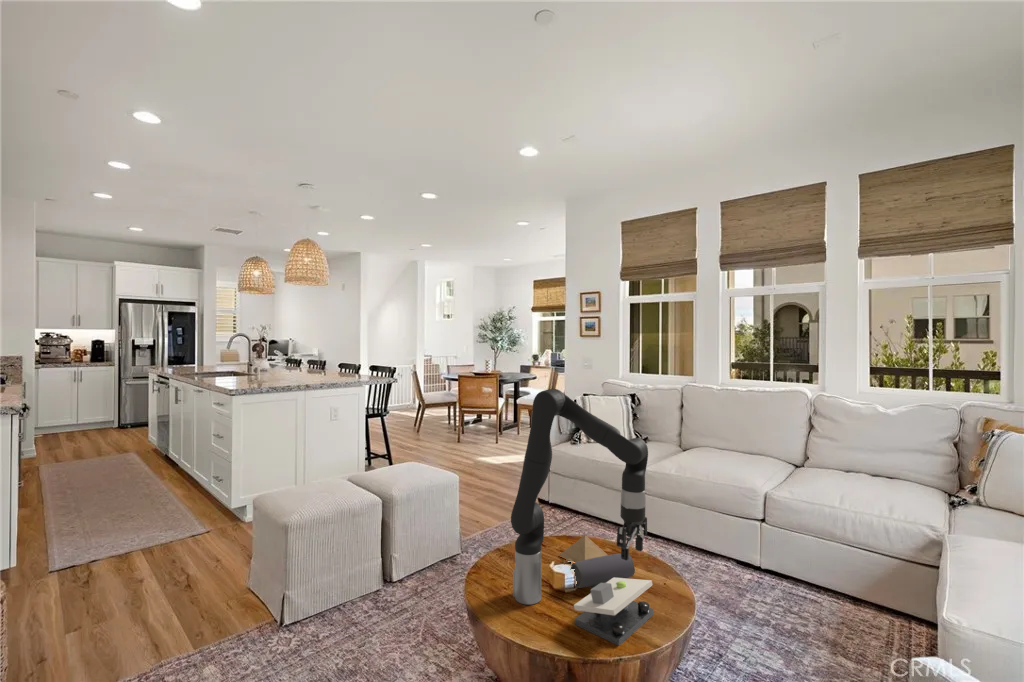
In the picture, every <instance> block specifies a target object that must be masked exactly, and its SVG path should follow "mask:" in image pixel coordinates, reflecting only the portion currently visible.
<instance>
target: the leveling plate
mask: <svg viewBox="0 0 1024 682" xmlns="http://www.w3.org/2000/svg"><path fill="white" fill-rule="evenodd" d="M653 585H654V584H653V580H652V579H651V580H650V579H639V578H615V577H614V578H612V579H611V580H609V581H608V582H606V583H600V584H598V585H597V586H595V587H594V588H592V587H591V589H590V593H589V594H588V595H586V596H585V597H583V598H581V599H580V600H578V601H577V602H576V603H575V604H573V608H574V611H580V612H593V613H600V614H607V615H614V616H615V615H616V614H617V613H618V612H620V611H621V610H622V609H623V608H625V607H626V606H627V605H628V604H630V603H631V602H632V601H635V600H637V598H639V596H641V595H642V594H643V593H645V592H646V591H647V590H648V589H649V588H651V587H652V586H653Z"/></svg>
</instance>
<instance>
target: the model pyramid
mask: <svg viewBox="0 0 1024 682" xmlns="http://www.w3.org/2000/svg"><path fill="white" fill-rule="evenodd" d="M606 555H608V553H606V552H605V551H604V550H603V549H602V548H600V546H598V545H597V544H596V543H595V542H594V541H592V540H591V539H590V538H589V537H588V536H587V535H586V534H584V535H582V537H580V538H579V539H578V540H577V541H575V542H574V543H572V544H571V545H570V546H569V547H567V548H566V549H565V550H563V551H562V552H561V553H560V554H558V555H557V557H558V556H561V557H563V558H565V559H566V560H567V561H574V562H579V561H583V560H587V559H591V558H596V557H601V556H606ZM566 560H565V561H566ZM567 561H566V562H567Z"/></svg>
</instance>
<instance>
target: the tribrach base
mask: <svg viewBox="0 0 1024 682" xmlns="http://www.w3.org/2000/svg"><path fill="white" fill-rule="evenodd" d="M654 611H655V610H654V608H652V607H650V604H649V602H646V601H639V602H637V601H635V600H633V601H632V602H631V603H630V604H628V605H627V606H626V607H625V608H623V609H622V610H621V611H620V612H618V613H617V614H616V615H615V616H614V615H607V614H600V613H593V612H585V611H582V613H580V614H579V615H578V616H576V617H575V618H574V625H575V626H577V627H579V628H581V629H583V630H584V631H588V632H589V633H591V634H593V635H595V636H597V637H599V638H601V639H604V640H605V641H607V642H610V643H612V644H614V645H615V646H618V647H620V645H621V644H623V643H624V642H625V641H626V640H627V639H629V637H630V636H632V635H633V634H634V633H635V632H636V631H637V630H639V628H641V627H642V626H643V625H644V624H645V623H646V622H647V621H649V620H650V619H651V618H652V617H653V616H654Z"/></svg>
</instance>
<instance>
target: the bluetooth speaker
mask: <svg viewBox="0 0 1024 682" xmlns="http://www.w3.org/2000/svg"><path fill="white" fill-rule="evenodd" d="M570 565H571V564H570ZM571 569H575V570H574V572H575V576H576V581H577V584H576V586H575V587H576V588H578V589H579V588H580V589H581V588H591V589H592V588H594V587H595V586H597V585H598V584H600V583H606V582H608V581H609V580H611V579H612V578H614V577H615V578H627V579H630V578H632V577H634V575H635V574H636V568H635V563H634V561H633V557H632V556H631V555H630V554H629V559H628V560H624V559H622V558H621V552H620V553H614V554H607V555H606V556H601V557H596V558H591V559H587V560H583V561H579V562H576V563H573V564H572V565H571V566H570V570H571Z"/></svg>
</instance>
